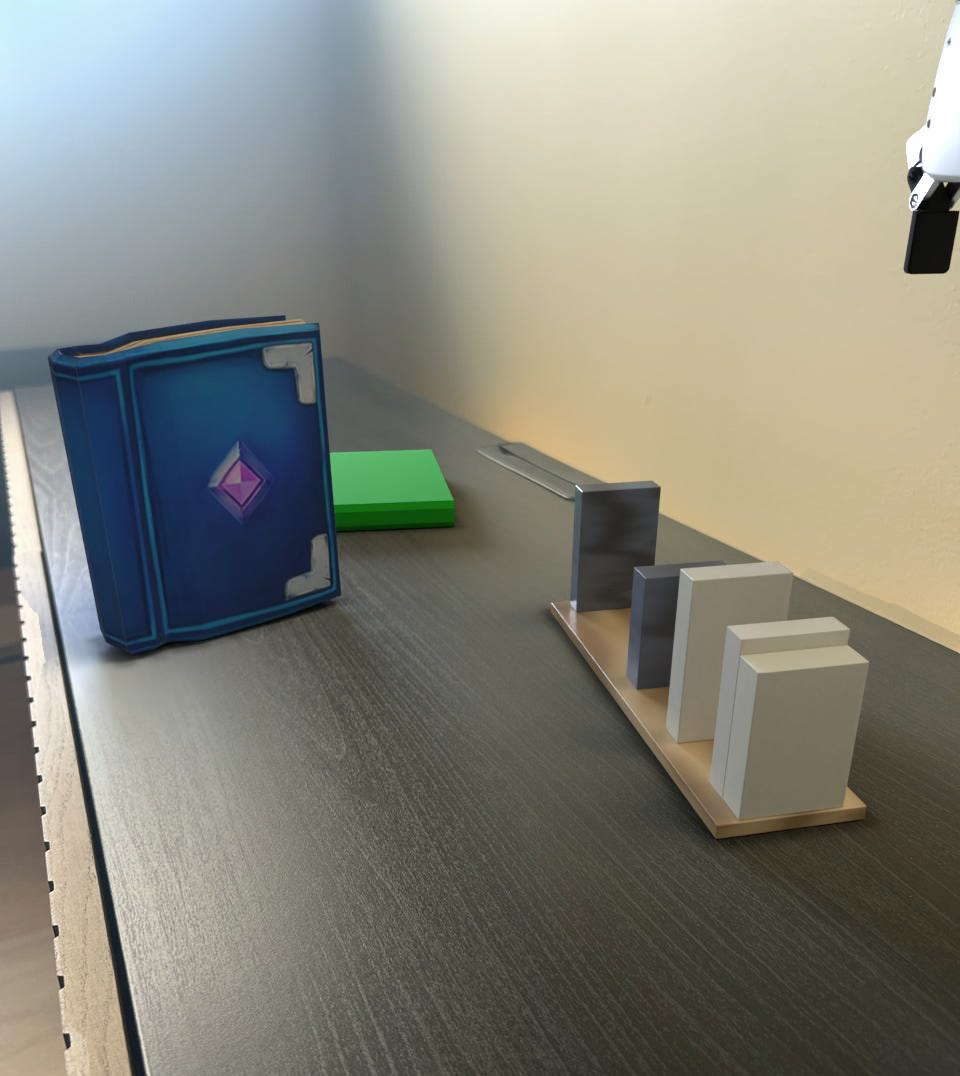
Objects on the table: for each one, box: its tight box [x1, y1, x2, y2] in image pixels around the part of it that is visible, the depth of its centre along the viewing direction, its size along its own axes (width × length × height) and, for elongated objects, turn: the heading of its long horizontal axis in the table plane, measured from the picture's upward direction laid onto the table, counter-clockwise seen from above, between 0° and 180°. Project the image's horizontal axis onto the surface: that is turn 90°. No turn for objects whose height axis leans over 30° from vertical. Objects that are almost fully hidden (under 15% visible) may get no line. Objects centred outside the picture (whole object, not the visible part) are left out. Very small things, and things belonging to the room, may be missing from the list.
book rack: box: [550, 480, 867, 840], centre depth 78 cm, size 10×36×12 cm, turn 13°
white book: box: [666, 560, 794, 743], centre depth 71 cm, size 7×2×12 cm, turn 103°
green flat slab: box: [330, 448, 456, 532], centre depth 124 cm, size 22×28×3 cm
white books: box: [709, 616, 870, 820], centre depth 64 cm, size 7×4×11 cm, turn 103°
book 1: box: [47, 314, 342, 655], centre depth 88 cm, size 22×7×25 cm, turn 129°
